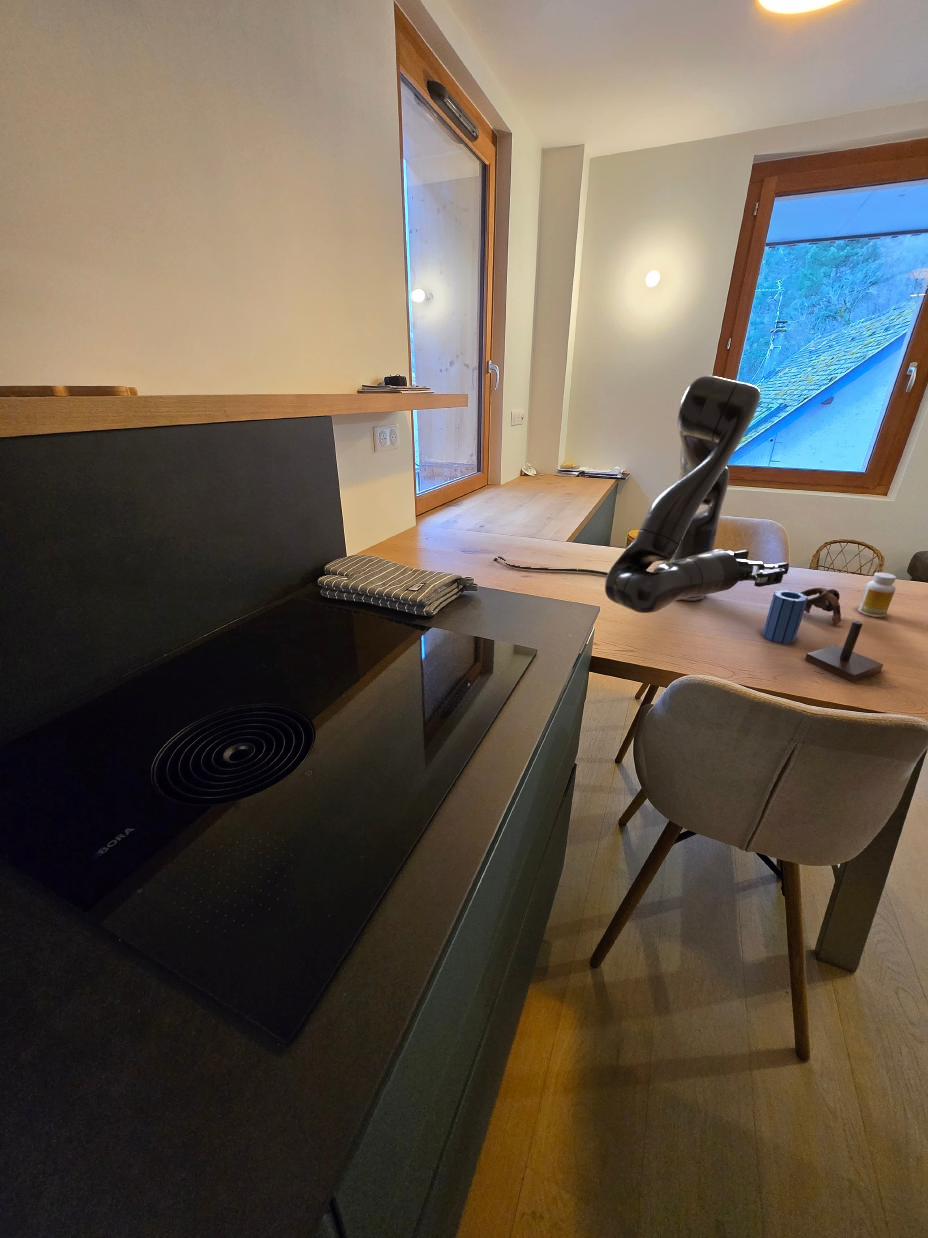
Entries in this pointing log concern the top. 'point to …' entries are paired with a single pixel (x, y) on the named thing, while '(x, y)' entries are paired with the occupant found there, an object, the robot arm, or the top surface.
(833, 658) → the stand
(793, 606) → the fluted pencil holder
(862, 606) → the supplement bottle
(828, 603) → the brown curved piece
